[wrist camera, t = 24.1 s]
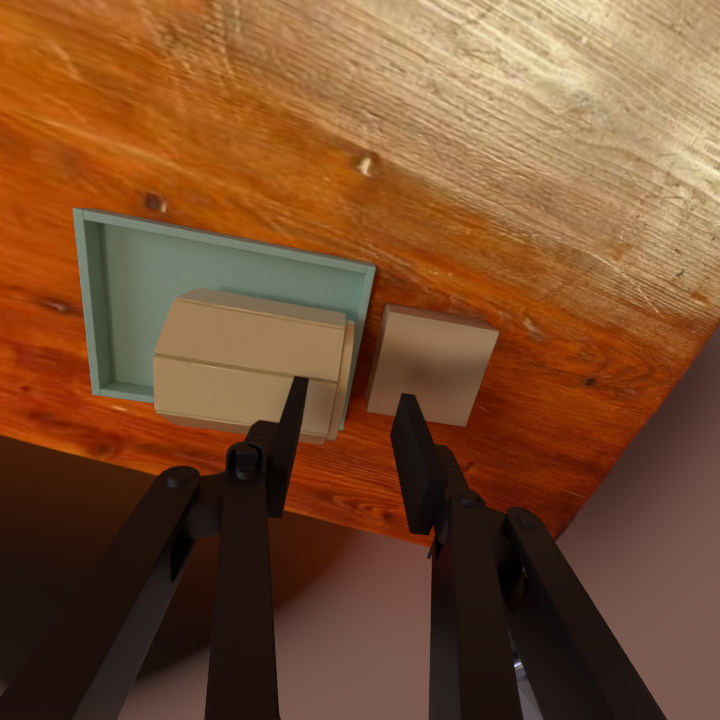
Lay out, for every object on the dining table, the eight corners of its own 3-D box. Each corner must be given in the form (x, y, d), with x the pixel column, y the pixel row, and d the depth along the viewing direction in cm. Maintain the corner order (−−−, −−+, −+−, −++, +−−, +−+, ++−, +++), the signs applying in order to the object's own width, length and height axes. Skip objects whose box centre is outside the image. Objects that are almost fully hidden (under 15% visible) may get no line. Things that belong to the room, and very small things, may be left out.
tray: (374, 263, 25) (376, 267, 23) (342, 417, 30) (342, 430, 28) (94, 208, 23) (72, 207, 21) (108, 383, 28) (92, 394, 26)
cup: (356, 343, 18) (150, 308, 17) (331, 471, 21) (155, 448, 20) (353, 306, 26) (212, 280, 25) (335, 403, 29) (208, 384, 28)
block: (454, 407, 30) (465, 427, 27) (364, 393, 29) (366, 412, 26) (484, 320, 27) (500, 331, 24) (385, 301, 26) (389, 311, 23)
